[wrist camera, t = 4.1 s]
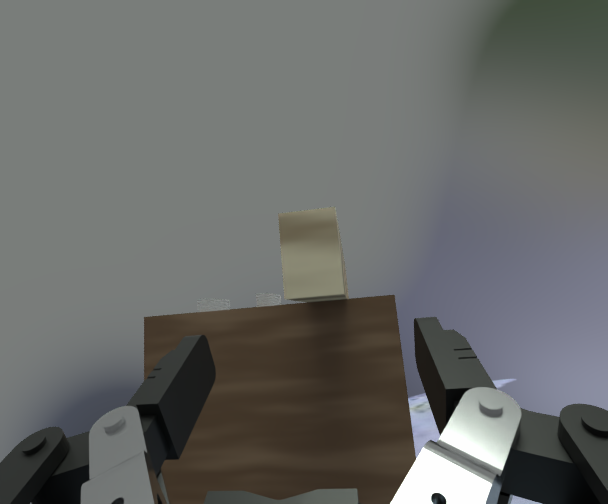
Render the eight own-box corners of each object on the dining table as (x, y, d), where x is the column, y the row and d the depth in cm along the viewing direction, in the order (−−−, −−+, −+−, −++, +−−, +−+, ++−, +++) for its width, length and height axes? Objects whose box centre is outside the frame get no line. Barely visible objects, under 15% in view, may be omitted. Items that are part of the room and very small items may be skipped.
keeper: (268, 308, 33) (267, 292, 34) (197, 314, 34) (197, 299, 34) (281, 308, 39) (280, 295, 39) (220, 313, 40) (219, 300, 40)
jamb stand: (467, 854, 19) (394, 294, 25) (143, 819, 22) (144, 317, 28) (420, 628, 33) (379, 299, 39) (224, 622, 35) (213, 314, 41)
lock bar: (344, 293, 17) (335, 206, 17) (284, 299, 17) (278, 213, 18) (349, 302, 39) (344, 264, 40) (323, 304, 40) (319, 266, 40)
